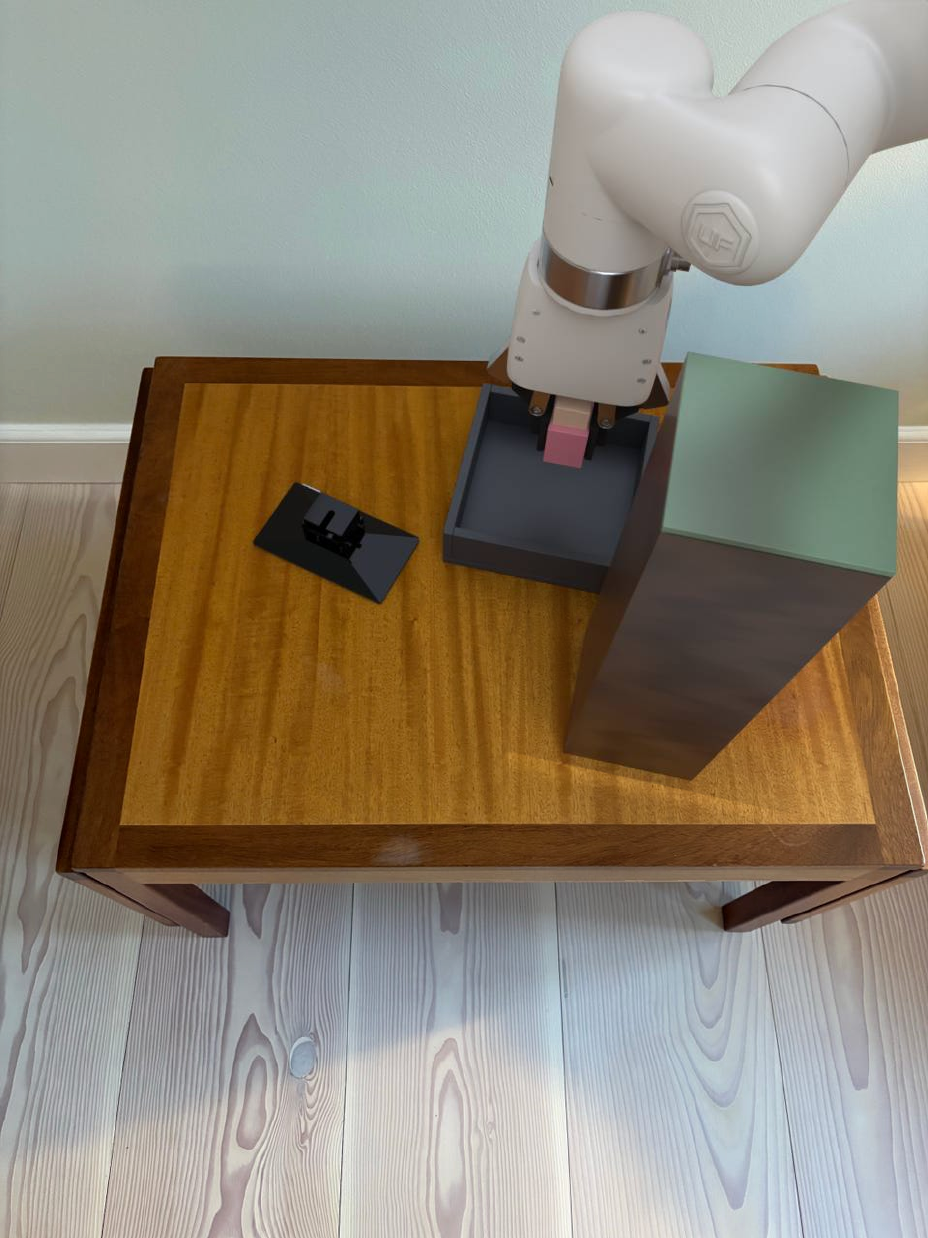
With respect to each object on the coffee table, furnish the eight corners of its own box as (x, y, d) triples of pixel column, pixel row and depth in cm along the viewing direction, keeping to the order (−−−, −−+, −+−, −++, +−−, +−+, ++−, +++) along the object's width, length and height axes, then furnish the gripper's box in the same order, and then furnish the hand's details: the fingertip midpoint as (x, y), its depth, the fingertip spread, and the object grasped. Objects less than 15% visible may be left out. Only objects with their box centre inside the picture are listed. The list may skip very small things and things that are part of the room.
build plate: (252, 545, 76) (241, 516, 72) (297, 481, 79) (289, 450, 75) (380, 605, 74) (376, 578, 69) (422, 537, 77) (420, 507, 72)
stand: (705, 662, 72) (899, 389, 42) (691, 781, 68) (897, 573, 38) (583, 637, 73) (687, 350, 43) (563, 753, 69) (662, 526, 38)
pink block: (588, 428, 71) (600, 376, 66) (580, 468, 69) (591, 419, 64) (551, 421, 71) (559, 369, 66) (542, 461, 69) (550, 411, 64)
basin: (648, 449, 81) (660, 416, 77) (624, 599, 75) (636, 572, 70) (480, 417, 82) (482, 382, 78) (442, 561, 76) (442, 532, 71)
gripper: (745, 230, 54) (676, 422, 71) (481, 187, 55) (474, 385, 72) (735, 322, 51) (665, 500, 68) (455, 274, 52) (454, 460, 69)
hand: (566, 439), depth 70 cm, fingers closed on pink block, 3 cm apart
